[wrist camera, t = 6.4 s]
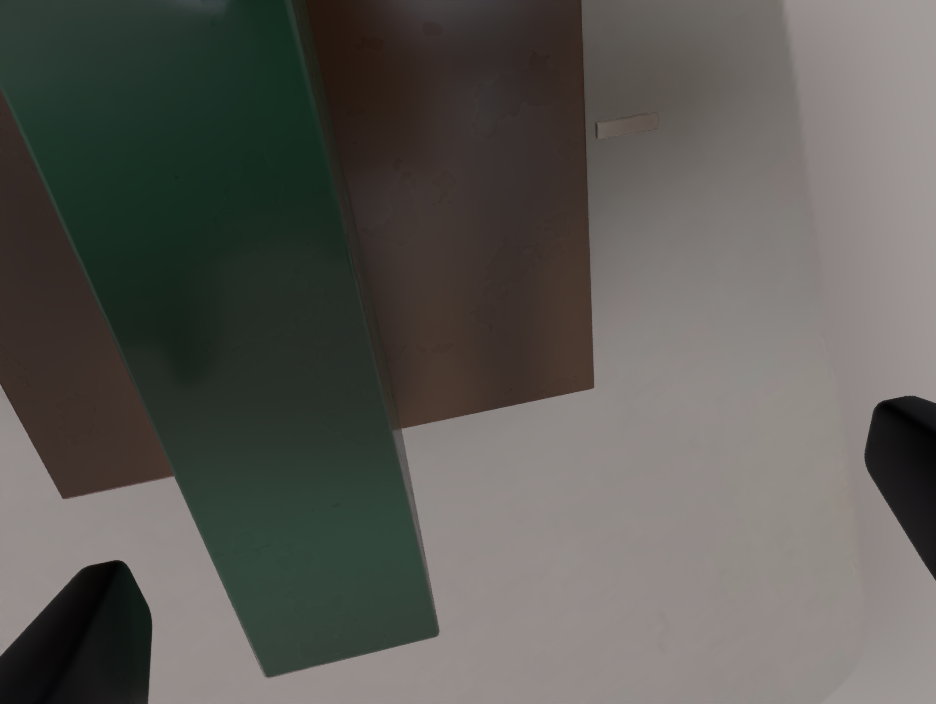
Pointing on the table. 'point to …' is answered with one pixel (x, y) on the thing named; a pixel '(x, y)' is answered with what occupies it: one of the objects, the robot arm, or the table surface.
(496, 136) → the brown wooden square board
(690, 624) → the table surface
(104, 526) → the table surface
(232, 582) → the book
